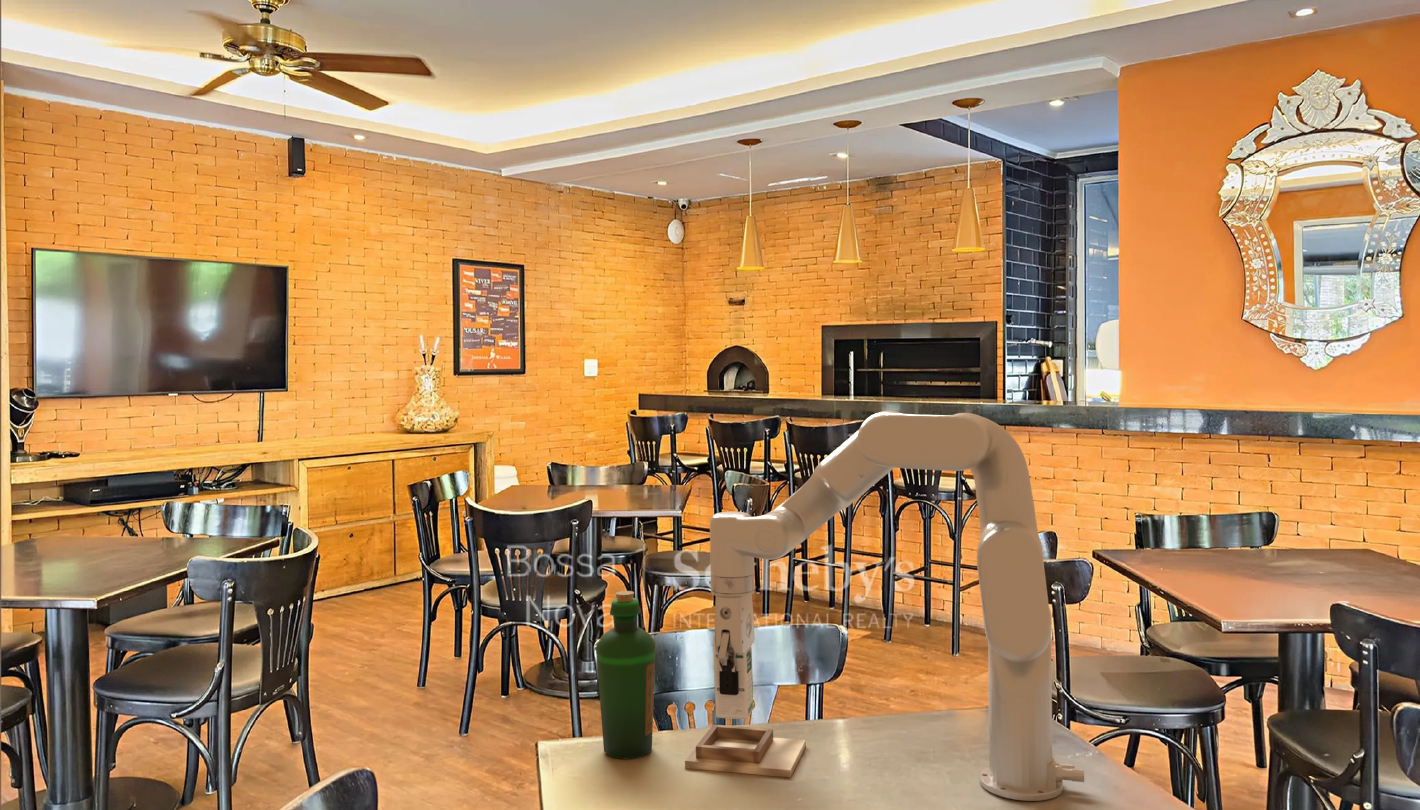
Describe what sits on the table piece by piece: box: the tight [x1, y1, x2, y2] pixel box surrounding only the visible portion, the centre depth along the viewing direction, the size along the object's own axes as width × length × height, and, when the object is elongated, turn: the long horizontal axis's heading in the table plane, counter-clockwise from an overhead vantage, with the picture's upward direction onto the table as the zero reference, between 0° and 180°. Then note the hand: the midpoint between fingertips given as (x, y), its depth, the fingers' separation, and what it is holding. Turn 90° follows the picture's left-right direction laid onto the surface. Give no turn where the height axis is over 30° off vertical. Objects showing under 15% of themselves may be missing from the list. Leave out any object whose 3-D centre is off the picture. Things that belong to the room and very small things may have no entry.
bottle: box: [595, 590, 656, 760], centre depth 174 cm, size 11×11×28 cm
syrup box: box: [712, 633, 754, 720], centre depth 171 cm, size 6×6×14 cm
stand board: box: [684, 724, 807, 778], centre depth 171 cm, size 18×14×3 cm
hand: (734, 687), depth 171 cm, fingers closed on syrup box, 5 cm apart
